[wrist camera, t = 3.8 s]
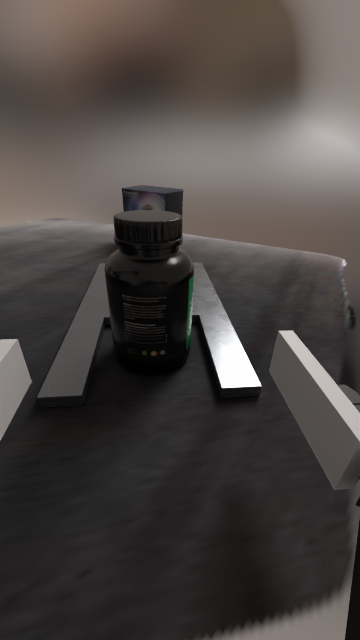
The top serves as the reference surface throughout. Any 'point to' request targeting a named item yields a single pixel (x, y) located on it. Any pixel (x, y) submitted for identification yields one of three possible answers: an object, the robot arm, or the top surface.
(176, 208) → the small box
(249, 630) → the top surface
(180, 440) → the top surface
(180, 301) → the supplement bottle
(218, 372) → the rail plate
